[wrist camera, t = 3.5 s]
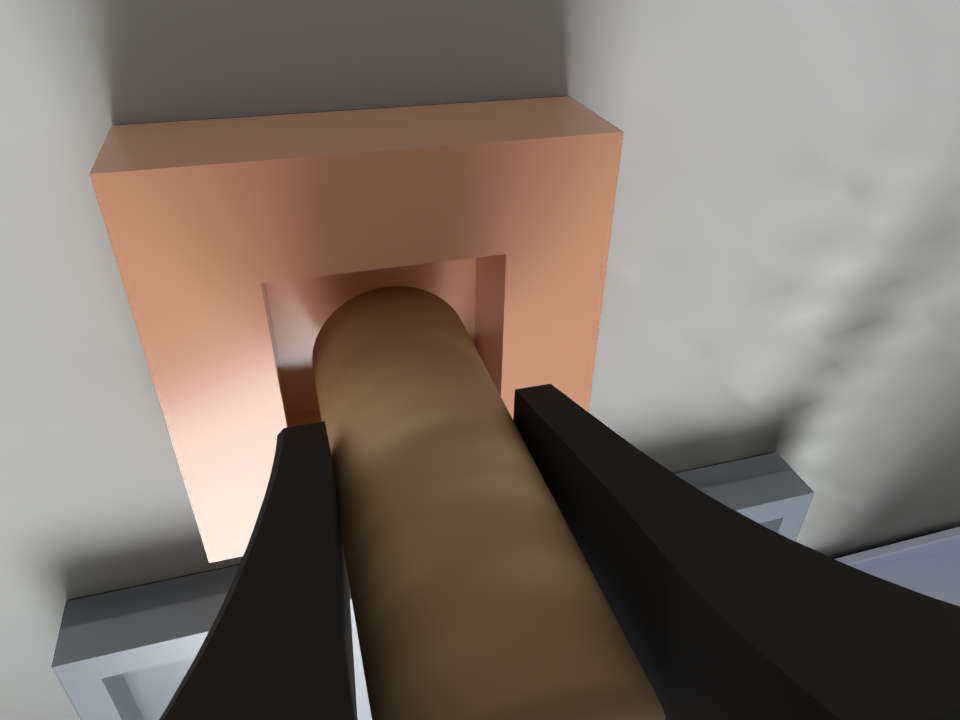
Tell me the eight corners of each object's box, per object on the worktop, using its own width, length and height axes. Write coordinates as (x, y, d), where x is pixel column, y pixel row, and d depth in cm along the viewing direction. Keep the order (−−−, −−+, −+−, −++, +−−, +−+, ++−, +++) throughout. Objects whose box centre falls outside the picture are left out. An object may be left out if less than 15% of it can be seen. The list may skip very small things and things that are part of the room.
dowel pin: (467, 277, 13) (688, 650, 7) (467, 404, 15) (644, 799, 8) (302, 297, 12) (377, 735, 6) (321, 429, 14) (397, 880, 8)
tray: (776, 452, 22) (814, 492, 20) (702, 675, 29) (727, 716, 27) (66, 601, 17) (51, 667, 16) (179, 826, 24) (175, 886, 22)
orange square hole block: (568, 96, 14) (623, 132, 12) (542, 423, 18) (578, 486, 16) (111, 125, 12) (89, 174, 10) (211, 483, 16) (209, 563, 15)
